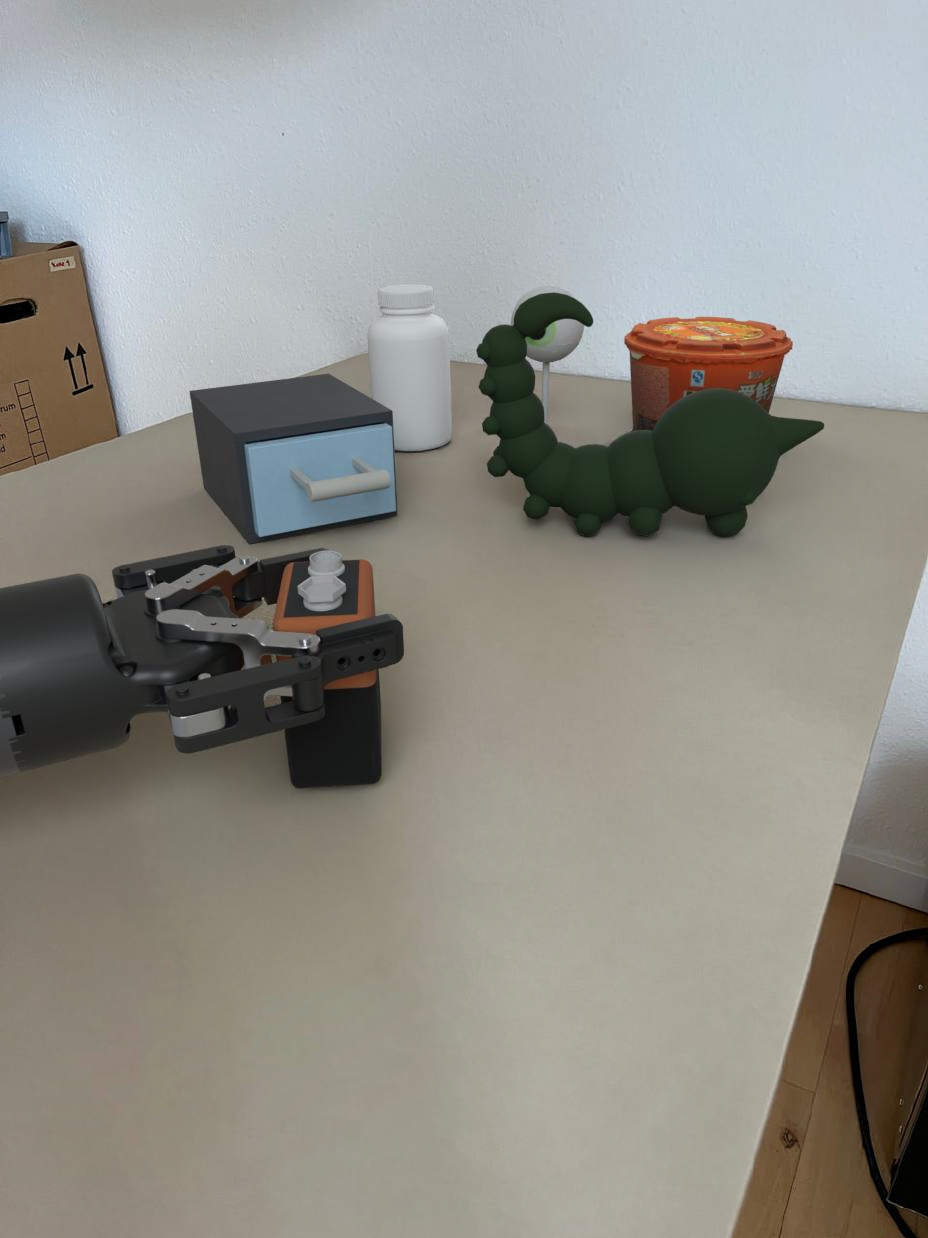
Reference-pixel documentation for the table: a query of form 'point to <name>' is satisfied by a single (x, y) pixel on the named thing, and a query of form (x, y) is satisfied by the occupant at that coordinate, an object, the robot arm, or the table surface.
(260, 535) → the drawer
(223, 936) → the table surface
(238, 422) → the dark grey box
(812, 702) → the table surface
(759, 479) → the toy figurine
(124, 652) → the robot arm
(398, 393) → the pill bottle
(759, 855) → the table surface
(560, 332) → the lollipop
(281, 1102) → the table surface
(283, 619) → the battery
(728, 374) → the food container
